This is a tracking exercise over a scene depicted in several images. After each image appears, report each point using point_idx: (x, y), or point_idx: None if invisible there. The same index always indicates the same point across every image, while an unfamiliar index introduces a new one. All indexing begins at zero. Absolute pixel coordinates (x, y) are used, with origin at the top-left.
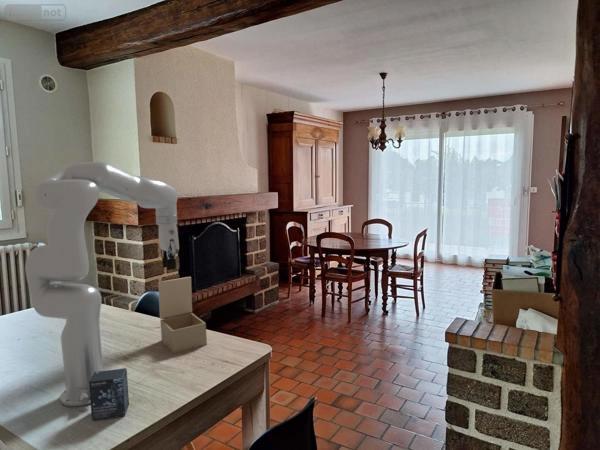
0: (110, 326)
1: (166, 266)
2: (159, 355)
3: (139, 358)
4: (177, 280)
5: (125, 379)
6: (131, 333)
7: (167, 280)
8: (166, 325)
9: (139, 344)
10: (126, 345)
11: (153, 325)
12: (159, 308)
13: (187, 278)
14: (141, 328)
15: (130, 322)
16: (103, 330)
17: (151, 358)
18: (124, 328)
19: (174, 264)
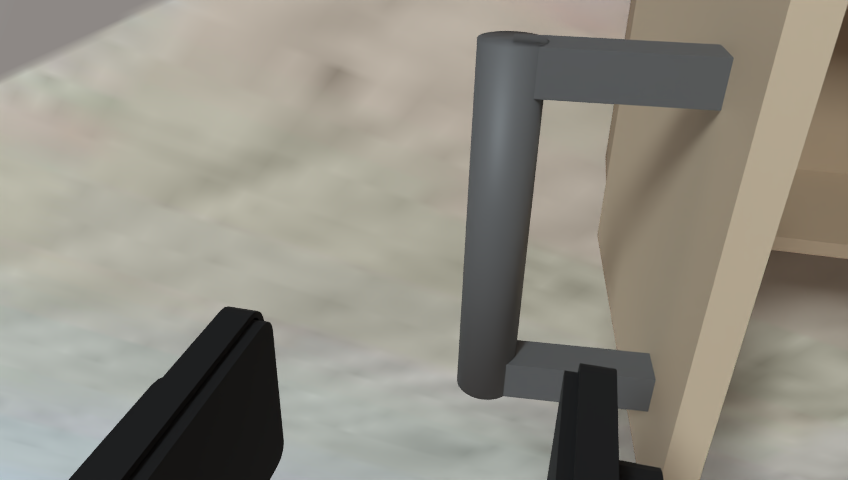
0: (153, 290)
1: (274, 412)
2: (840, 259)
3: (770, 349)
4: (753, 273)
5: None
6: (341, 248)
7: (682, 422)
8: (800, 251)
9: (558, 277)
10: None
11: (275, 92)
12: (606, 285)
13: (819, 74)
14: (288, 174)
15: (137, 187)
16: (200, 333)
17: (837, 307)
18: (229, 247)
19: (614, 475)
